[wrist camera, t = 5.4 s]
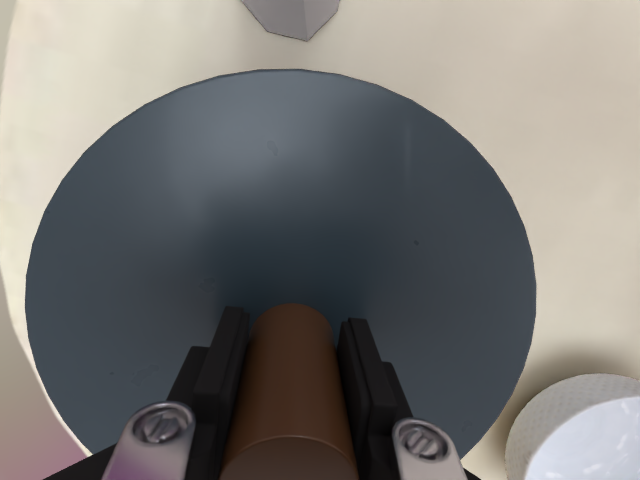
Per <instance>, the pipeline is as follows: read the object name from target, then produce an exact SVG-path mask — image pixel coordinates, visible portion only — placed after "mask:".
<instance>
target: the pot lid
mask: <svg viewBox="0 0 640 480" xmlns="http://www.w3.org/2000/svg"><path fill="white" fill-rule="evenodd" d="M226 306H232V307H243V308H244V312H247V313H250V321H249V332H248V342H247V348H246V353H245V357H244V362H243V367H242V371H241V376H240V380H239V385H238V389H237V394H236V398H235V403H234V408H233V412H232V417H231V421H230V426H229V430H228V435H227V440H226V443H225V448H224V452H223V457H222V461H221V466H220V470H219V475H218V479H217V480H359V475H358V470H357V464H356V459H355V453H354V447H353V442H352V436H351V431H350V425H349V419H348V414H347V408H346V403H345V397H344V391H343V386H342V380H341V375H340V369H339V363H338V358H337V352H336V351H337V345H338V339H339V333H340V327H341V323H342V321H345V322H347V321H348V318H349V317H351V318H362V319H367V322H368V324H369V327H370V330H371V333H372V335H373V338H374V341H375V344H376V347H377V349H378V352H379V355H380V358H381V360H382V361H384V362H391V363H392V365H393V367H394V369H395V372H396V374H397V377H398V379H399V382H400V384H401V387H402V389H403V392H404V394H405V397H406V399H407V402H408V404H409V407H410V409H411V412H412V414H413V417H417V418H421V419H425V420H427V421H430V422H432V423H434V424H436V425H437V426H439V427H440V428H441V429H443V430H444V431H445V432H446V433H447V434H448V435H449V437H450V438H451V440H452V442H453V444H454V446H455V449H456V451H457V454H458V456H459V459H460V460H461V459H462V458H463V457H464V456H465V455H466V454H467V453H468V452H469V451H470V450H471V449H472V448H473V447H474V446H475V445H476V444H477V443H478V442H479V441H480V440H481V438H482V437H483V436H484V435H485V433H486V432H487V431H488V430H489V428H490V427H491V426H492V425H493V423H494V422H495V421H496V419H497V418H498V417H499V415H500V413H501V412H502V410H503V408H504V407H505V405H506V403H507V402H508V400H509V399H510V397H511V395H512V393H513V391H514V389H515V387H516V384H517V382H518V380H519V378H520V376H521V373H522V371H523V369H524V365H525V362H526V359H527V355H528V352H529V349H530V346H531V342H532V335H533V329H534V323H535V317H536V278H535V271H534V263H533V255H532V252H531V248H530V245H529V241H528V237H527V234H526V230H525V227H524V224H523V222H522V220H521V218H520V215H519V213H518V211H517V209H516V206H515V204H514V202H513V200H512V197H511V196H510V194H509V192H508V191H507V189H506V188H505V186H504V185H503V183H502V182H501V180H500V178H499V177H498V175H497V174H496V172H495V171H494V169H493V168H492V167H491V165H490V164H489V163H488V162H487V161H486V160H485V159H484V157H483V156H482V155H481V154H480V153H479V152H478V151H477V149H476V148H475V147H474V146H473V145H472V144H471V143H470V142H469V141H468V140H467V139H466V138H464V137H463V136H462V135H461V134H460V133H459V132H457V131H456V130H455V129H454V128H453V127H451V126H450V125H449V124H448V123H447V122H446V121H444V120H443V119H442V118H440V117H438V116H437V115H435V114H434V113H432V112H430V111H429V110H427V109H426V108H424V107H422V106H421V105H419V104H418V103H416V102H414V101H413V100H411V99H409V98H406V97H404V96H402V95H399V94H397V93H395V92H393V91H390V90H388V89H386V88H384V87H381V86H379V85H377V84H373V83H369V82H366V81H362V80H359V79H355V78H351V77H348V76H344V75H341V74H335V73H327V72H319V71H312V70H304V69H258V70H252V71H245V72H239V73H232V74H226V75H220V76H216V77H213V78H209V79H206V80H203V81H200V82H196V83H193V84H190V85H187V86H183V87H180V88H178V89H176V90H174V91H172V92H170V93H168V94H165V95H163V96H161V97H159V98H157V99H155V100H153V101H151V102H149V103H147V104H144V105H143V106H142V107H140V108H139V109H137V110H136V111H134V112H133V113H131V114H130V115H128V116H127V117H125V118H124V119H122V120H121V121H119V122H118V123H116V124H115V125H113V126H112V127H111V128H110V129H109V130H108V131H107V132H105V133H104V134H103V135H102V136H101V137H100V138H99V139H98V140H97V141H96V142H95V143H93V144H92V145H91V146H90V147H89V148H88V149H87V150H86V151H85V152H84V153H83V154H82V156H81V157H80V158H79V159H78V161H77V162H76V163H75V164H74V166H73V167H72V168H71V169H70V171H69V172H68V173H67V175H66V176H65V177H64V178H63V180H62V181H61V183H60V185H59V186H58V188H57V190H56V192H55V193H54V195H53V197H52V199H51V201H50V202H49V204H48V206H47V208H46V209H45V211H44V214H43V217H42V219H41V222H40V225H39V227H38V230H37V233H36V235H35V238H34V241H33V244H32V249H31V254H30V259H29V264H28V269H27V274H26V292H25V313H26V322H27V330H28V339H29V342H30V346H31V350H32V354H33V357H34V361H35V365H36V368H37V371H38V373H39V375H40V377H41V380H42V382H43V384H44V387H45V389H46V391H47V394H48V396H49V397H50V399H51V401H52V402H53V404H54V406H55V407H56V409H57V411H58V412H59V414H60V416H61V417H62V419H63V420H64V422H65V423H66V424H67V426H68V427H69V428H70V429H71V431H72V432H73V433H74V434H75V435H76V437H77V438H78V439H79V440H80V442H81V443H82V444H83V445H84V446H85V447H86V448H87V449H88V450H89V451H90V452H91V453H92V454H93V455H94V454H96V453H98V452H100V451H102V450H104V449H106V448H108V447H110V446H112V445H114V444H116V443H117V442H118V440H119V438H120V436H121V433H122V431H123V429H124V427H125V424H126V423H127V421H128V420H129V418H130V417H131V415H133V414H134V413H135V412H136V411H137V410H138V409H140V408H142V407H144V406H146V405H148V404H151V403H155V402H158V401H166V399H167V397H168V395H169V392H170V390H171V388H172V386H173V384H174V382H175V380H176V378H177V375H178V373H179V371H180V369H181V367H182V365H183V363H184V361H185V358H186V356H187V354H188V352H189V350H190V348H191V346H202V347H210V345H211V343H212V340H213V338H214V335H215V332H216V330H217V327H218V325H219V322H220V319H221V317H222V314H223V312H224V309H225V307H226Z"/></svg>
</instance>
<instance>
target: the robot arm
mask: <svg viewBox="0 0 640 480" xmlns="http://www.w3.org/2000/svg"><path fill="white" fill-rule="evenodd" d="M249 321H250V313H247V312H244V308H243V307H232V306H226V307H225V309H224V312H223V314H222V317H221V319H220V322H219V325H218V327H217V330H216V332H215V335H214V338H213V340H212V343H211V345H210V347H202V346H191V348H190V350H189V352H188V354H187V356H186V358H185V361H184V363H183V365H182V367H181V369H180V371H179V373H178V375H177V378H176V380H175V382H174V384H173V386H172V388H171V390H170V392H169V395H168V397H167V399H166V401H158V402H155V403H151V404H148V405H146V406H144V407H142V408H140V409H138V410H137V411H136V412H135V413H134V414H133V415H131V417H130V418H129V420H128V421H127V423H126V424H125V427H124V429H123V431H122V433H121V436H120V438H119V440H118V442H117V443H116V444H114V445H112V446H110V447H108V448H106V449H104V450H102V451H100V452H98V453H96V454H94V455H92V456H90V457H87V458H85V459H83V460H81V461H79V462H78V463H75V464H73V465H72V466H69V467H67V468H65V469H63V470H61V471H59V472H57V473H55V474H53V475H51V476H49V477H47V478H45V479H43V480H217V479H218V475H219V470H220V466H221V461H222V457H223V452H224V448H225V443H226V440H227V435H228V430H229V426H230V421H231V417H232V412H233V408H234V403H235V398H236V394H237V389H238V385H239V380H240V376H241V371H242V367H243V362H244V357H245V353H246V348H247V342H248V332H249ZM336 352H337V358H338V363H339V369H340V375H341V380H342V386H343V391H344V397H345V403H346V408H347V414H348V419H349V425H350V431H351V436H352V442H353V447H354V453H355V459H356V464H357V470H358V475H359V480H481V479H479V478H478V477H476V476H475V475H473V474H472V473H470V472H469V471H467V470H466V469H464V468H463V467H462V464H461V461H460V459H459V456H458V454H457V451H456V449H455V446H454V444H453V442H452V440H451V438H450V437H449V435H448V434H447V433H446V432H445V431H444V430H443V429H441V428H440V427H439V426H437V425H436V424H434V423H432V422H430V421H427V420H425V419H421V418H417V417H413V414H412V412H411V409H410V407H409V404H408V402H407V399H406V397H405V394H404V392H403V389H402V387H401V384H400V382H399V379H398V377H397V374H396V372H395V369H394V367H393V365H392V363H391V362H384V361H382V360H381V358H380V355H379V352H378V349H377V347H376V344H375V341H374V338H373V335H372V333H371V330H370V327H369V324H368V322H367V319H362V318H351V317H349V318H348V321H347V322H345V321H342V323H341V327H340V333H339V339H338V345H337V351H336Z"/></svg>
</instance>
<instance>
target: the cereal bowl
mask: <svg viewBox="0 0 640 480" xmlns="http://www.w3.org/2000/svg"><path fill="white" fill-rule="evenodd" d="M505 464H506V472H507V478H508V480H640V381H639V380H636V379H634V378H630V377H626V376H621V375H613V374H604V373H600V374H594V373H593V374H584V375H579V376H575V377H572V378H568V379H565V380H562V381H559V382H558V383H555V384H553V385H551V386H549V387H548V388H546V389H544V390H542V391H541V392H540V393H539V394H537V395H536V396H535V397H534V398H532V400H531V401H530V402H528V403H527V405H526V406H525V407H524V408H523V409H522V410H521V412H520V413H519V415H518V416H517V417H516V419H515V422H514V423H513V425H512V428H511V430H510V433H509V437H508V439H507V445H506V452H505Z"/></svg>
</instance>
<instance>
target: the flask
mask: <svg viewBox="0 0 640 480" xmlns="http://www.w3.org/2000/svg"><path fill="white" fill-rule="evenodd" d="M241 1H242V2H243V3H244V4H245V5H246V7H247V8H248V9H249V10H250V11H251V13H252V14H253V15H254V16H255V17H256V19H257V20H258V21H259V22H260V23H261V24H262V26H263V27H264V28H265V29H266V30H267V31H268V32H272V33H277V34H281V35H285V36H289V37H294V38H298V39H302V40H307V41H308V40H309V39H310V38H311V37H312V36H313V35H314V34H315V33H316V32H317V31H318V30H319V29H320V28H321V27H322V26H323V25H324V24H325V23H326V22H327V21H328V20H329V19H330V18H331V17H332V16H333V15H334V14H335V13H336V12H337V11H338V5H339V0H241Z"/></svg>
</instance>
